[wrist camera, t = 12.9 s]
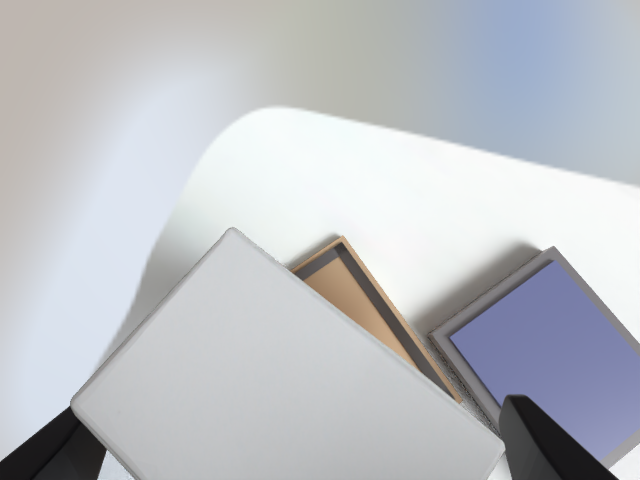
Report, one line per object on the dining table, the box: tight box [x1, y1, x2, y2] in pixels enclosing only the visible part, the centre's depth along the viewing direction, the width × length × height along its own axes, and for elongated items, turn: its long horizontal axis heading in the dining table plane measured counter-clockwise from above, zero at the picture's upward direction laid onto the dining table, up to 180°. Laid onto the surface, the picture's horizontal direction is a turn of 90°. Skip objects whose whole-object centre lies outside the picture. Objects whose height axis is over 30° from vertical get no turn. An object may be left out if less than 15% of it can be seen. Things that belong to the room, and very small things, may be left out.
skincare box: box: [70, 227, 506, 480], centre depth 12 cm, size 6×4×12 cm
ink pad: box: [427, 246, 640, 469], centre depth 17 cm, size 7×8×1 cm
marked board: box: [290, 236, 463, 404], centre depth 18 cm, size 9×9×1 cm
